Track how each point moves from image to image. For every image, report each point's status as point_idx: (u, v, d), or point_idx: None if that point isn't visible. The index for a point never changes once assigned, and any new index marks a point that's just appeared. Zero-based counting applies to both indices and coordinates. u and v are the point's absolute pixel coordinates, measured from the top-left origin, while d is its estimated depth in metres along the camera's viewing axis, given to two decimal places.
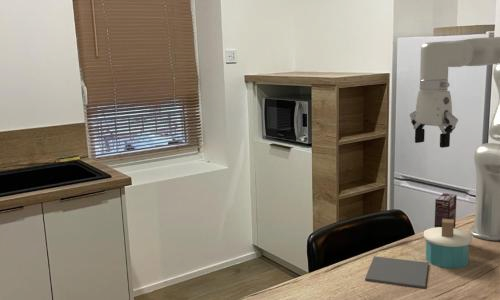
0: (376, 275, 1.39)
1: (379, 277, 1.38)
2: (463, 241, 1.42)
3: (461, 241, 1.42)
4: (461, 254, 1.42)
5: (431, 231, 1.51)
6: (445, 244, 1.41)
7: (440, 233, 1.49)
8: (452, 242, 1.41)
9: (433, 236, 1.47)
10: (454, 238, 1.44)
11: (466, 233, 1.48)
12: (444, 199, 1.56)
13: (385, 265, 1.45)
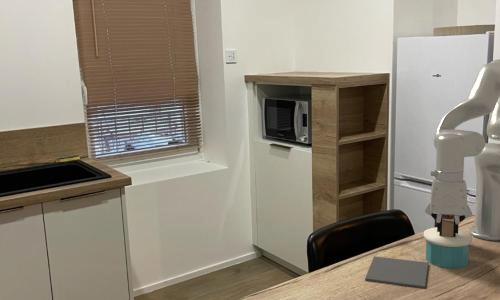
0: (376, 275, 1.39)
1: (379, 277, 1.38)
2: (463, 241, 1.42)
3: (461, 241, 1.42)
4: (461, 254, 1.42)
5: (431, 231, 1.51)
6: (445, 244, 1.41)
7: None
8: (452, 242, 1.41)
9: (433, 236, 1.47)
10: (454, 238, 1.44)
11: (466, 233, 1.48)
12: None
13: (385, 265, 1.45)
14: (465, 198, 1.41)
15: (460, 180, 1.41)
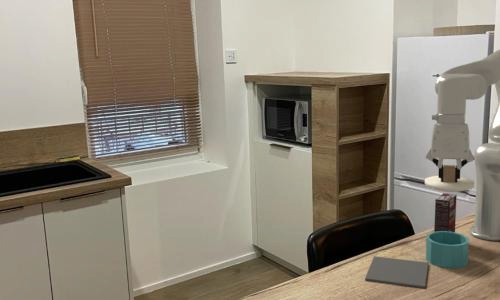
0: (376, 275, 1.39)
1: (379, 277, 1.38)
2: (465, 185, 1.39)
3: (463, 185, 1.39)
4: (461, 254, 1.42)
5: (432, 178, 1.47)
6: (447, 188, 1.38)
7: None
8: (454, 186, 1.38)
9: (434, 182, 1.43)
10: (456, 183, 1.41)
11: (468, 179, 1.44)
12: (444, 199, 1.56)
13: (385, 265, 1.45)
14: (467, 141, 1.37)
15: (462, 122, 1.37)
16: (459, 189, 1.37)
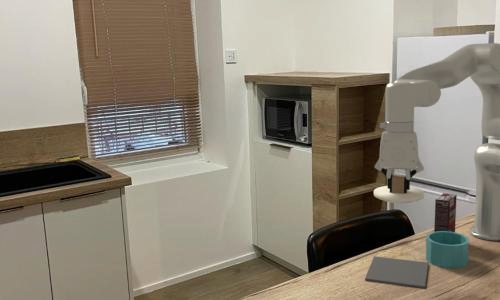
0: (376, 275, 1.39)
1: (379, 277, 1.38)
2: (413, 196, 1.32)
3: (411, 196, 1.32)
4: (461, 254, 1.42)
5: (382, 189, 1.41)
6: (394, 199, 1.31)
7: None
8: (401, 197, 1.32)
9: (383, 193, 1.37)
10: (405, 194, 1.34)
11: (419, 190, 1.38)
12: (443, 199, 1.56)
13: (385, 265, 1.45)
14: (415, 150, 1.31)
15: (410, 131, 1.31)
16: (406, 201, 1.31)
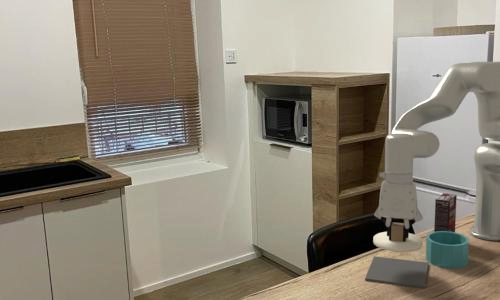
0: (376, 275, 1.39)
1: (379, 277, 1.38)
2: (412, 246, 1.35)
3: (410, 246, 1.35)
4: (461, 254, 1.42)
5: (381, 235, 1.43)
6: (393, 249, 1.34)
7: None
8: (400, 247, 1.34)
9: (382, 240, 1.39)
10: (404, 243, 1.37)
11: (417, 238, 1.40)
12: (444, 199, 1.56)
13: (385, 265, 1.45)
14: (414, 201, 1.34)
15: (409, 182, 1.34)
16: (405, 250, 1.33)
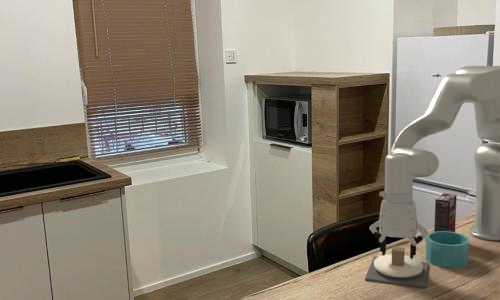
0: (376, 275, 1.39)
1: (379, 277, 1.38)
2: (412, 271, 1.36)
3: (410, 271, 1.36)
4: (461, 254, 1.42)
5: (382, 259, 1.45)
6: (393, 274, 1.36)
7: (391, 261, 1.43)
8: (401, 272, 1.36)
9: (383, 265, 1.41)
10: (404, 268, 1.38)
11: (417, 262, 1.42)
12: (444, 199, 1.56)
13: None
14: (414, 220, 1.35)
15: (408, 201, 1.35)
16: (406, 276, 1.35)
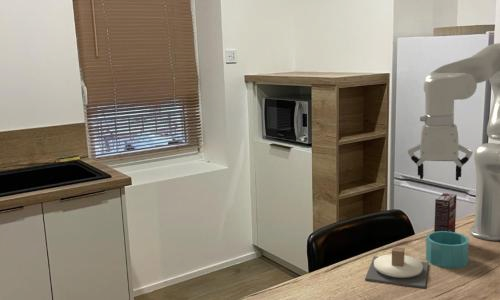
0: (376, 275, 1.39)
1: (379, 277, 1.38)
2: (413, 271, 1.36)
3: (410, 271, 1.36)
4: (461, 254, 1.42)
5: (382, 259, 1.45)
6: (393, 274, 1.36)
7: (391, 261, 1.43)
8: (401, 272, 1.36)
9: (383, 265, 1.41)
10: (404, 268, 1.38)
11: (417, 262, 1.42)
12: (443, 199, 1.56)
13: None
14: (456, 142, 1.35)
15: (450, 124, 1.34)
16: (406, 276, 1.35)
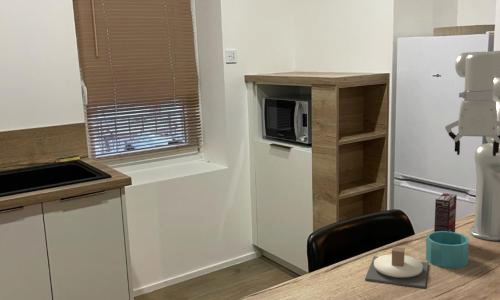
0: (376, 275, 1.39)
1: (379, 277, 1.38)
2: (413, 271, 1.36)
3: (410, 271, 1.36)
4: (461, 254, 1.42)
5: (382, 259, 1.45)
6: (394, 274, 1.36)
7: (391, 261, 1.43)
8: (401, 272, 1.36)
9: (383, 265, 1.41)
10: (404, 268, 1.38)
11: (417, 262, 1.42)
12: (444, 199, 1.56)
13: None
14: (495, 118, 1.37)
15: (490, 99, 1.37)
16: (406, 276, 1.35)
